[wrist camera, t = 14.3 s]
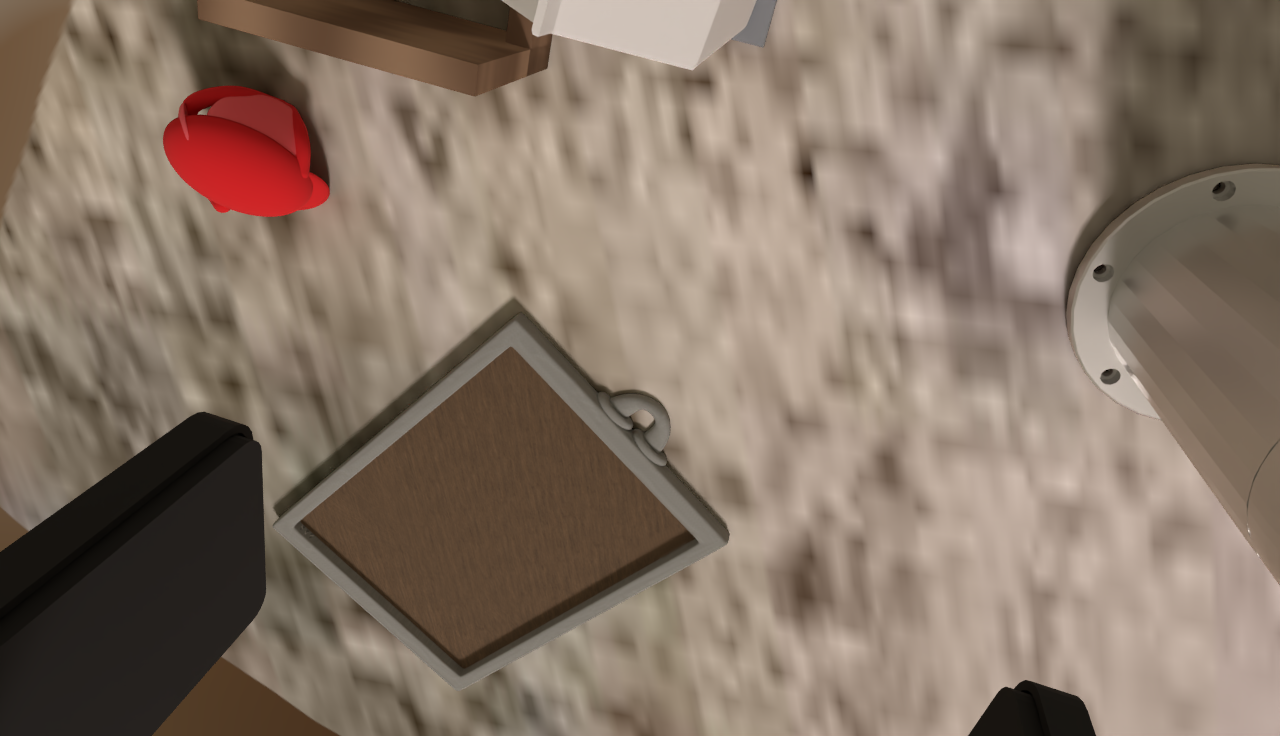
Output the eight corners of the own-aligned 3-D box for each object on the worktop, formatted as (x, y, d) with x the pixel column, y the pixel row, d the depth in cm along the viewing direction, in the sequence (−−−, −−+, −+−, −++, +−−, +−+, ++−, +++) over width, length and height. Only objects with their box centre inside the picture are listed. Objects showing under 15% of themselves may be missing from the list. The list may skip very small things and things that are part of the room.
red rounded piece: (143, 130, 41) (163, 234, 40) (166, 63, 37) (189, 177, 36) (297, 146, 47) (318, 238, 46) (333, 89, 43) (357, 189, 42)
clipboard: (269, 526, 57) (545, 291, 43) (283, 513, 58) (554, 280, 45) (457, 693, 61) (763, 526, 47) (465, 677, 62) (765, 510, 49)
